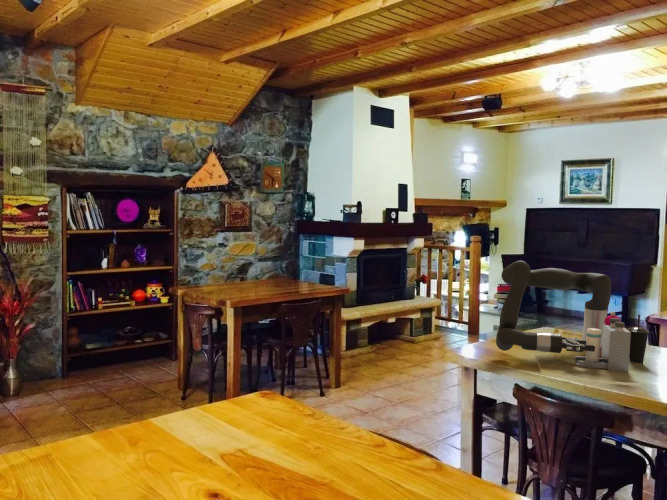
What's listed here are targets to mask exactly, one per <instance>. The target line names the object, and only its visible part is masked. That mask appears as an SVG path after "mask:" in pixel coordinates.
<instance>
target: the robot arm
mask: <svg viewBox="0 0 667 500" xmlns="http://www.w3.org/2000/svg"><path fill="white" fill-rule="evenodd" d="M501 280H502V281H503V282H504V283H505V284H506V285H508V286H510V289H509V291H508V293H507V295H506V297H505V299H504V301H503V304H502V306H501V310H500V315H499V326H498V330H497V333H496V337H495V345H496V346H497V348H498V349H499V350H501V351H504V352H505V351H506V352H507V351H509V350H510V349H512V348H513V347H514V346H518V347H520V348H521V349H522V350H526V351H537V352H542V353H553V354H554V353H555V354H561V353H562V351H563V350H562V349H564V350H566V352H575V353H584V352H586V351H593V352H594V351H595V346H594V345H586V338H587V336H586V333H587V328H595V329H600V330H601V341H600V350H601V346H602V339H603V325H606V324H605V323H604V321H605V318H606V317H607V316H608V306H609V304H610V300H611V292H612V281H611V278H610V276H608V275H606V274H603V273H596V272H574V271H571V270H568V269H564V268H558V267H557V268H555V267H547V268H545V267H544V268H539V269H531V267H530V265H529V264H528V263H527V262H526V261H524V260H516V261H514V262H512V263H510V264H509V265H507V266H506V267H504V269H502V272H501ZM527 287H536V288H541V289H542V288H543V289H549V290H557V291H558V290H560V291H561V290H562V291H564V290H565V291H566V290H579V291H583V292H587V293H591V294H592V297H591V299H590V300H587V301H585V302H584V315H583V331H582V339H579V338H577V337H565V336H562V334H561V333H553V332H526V331H523V330H520V329H517V325H518V321H519V317H520V316H519V314H520V309H521V304H522V300H523V297H524V294H525V292H526V288H527Z"/></svg>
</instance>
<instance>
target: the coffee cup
mask: <svg viewBox="0 0 667 500" xmlns="http://www.w3.org/2000/svg"><path fill="white" fill-rule="evenodd" d="M586 336H587V338H586V345H594V346H595V351H594V352H593V351H585V356H584V357H585V361H590V362H599V358H601V357H600V356H601V354H600V353H601V349H600V341H601V330H600V329H595V328H587V333H586Z"/></svg>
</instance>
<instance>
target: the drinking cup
mask: <svg viewBox="0 0 667 500" xmlns="http://www.w3.org/2000/svg"><path fill="white" fill-rule="evenodd" d="M640 324H641V314H637V326H633V327H632V326H631V327H630V328H627V330H628V331H630V332H631V338H630V353H629V362H632V363H639V364H641V365H644V360H645V353H646V348H647V343H648V342H647V341H648V335H649V333H650V330H648V329H646V328H644V327H640Z"/></svg>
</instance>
